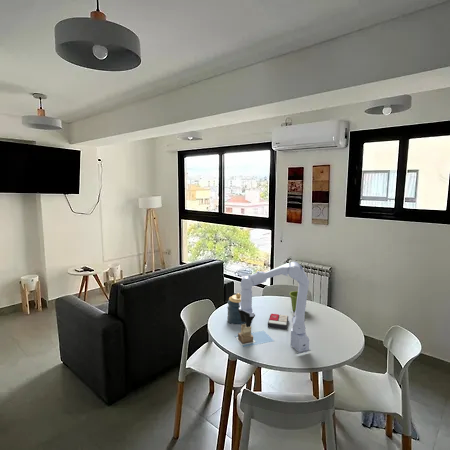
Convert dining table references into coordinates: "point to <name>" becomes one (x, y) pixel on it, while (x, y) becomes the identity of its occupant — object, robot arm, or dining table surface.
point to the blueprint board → (257, 339)
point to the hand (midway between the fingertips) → (245, 324)
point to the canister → (234, 309)
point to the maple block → (245, 330)
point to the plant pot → (294, 299)
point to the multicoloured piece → (278, 321)
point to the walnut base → (245, 338)
